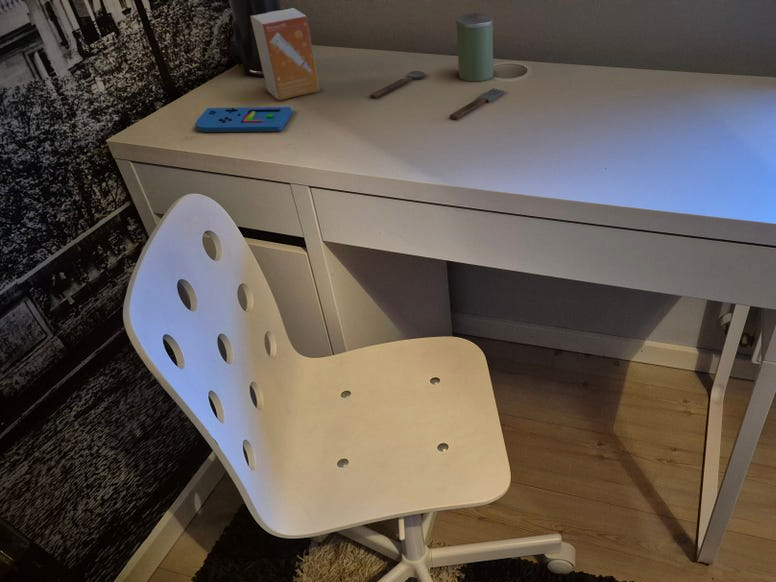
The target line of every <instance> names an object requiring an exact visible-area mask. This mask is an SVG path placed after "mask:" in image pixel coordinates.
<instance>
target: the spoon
mask: <svg viewBox="0 0 776 582" xmlns="http://www.w3.org/2000/svg"><path fill="white" fill-rule="evenodd" d="M424 78H425V72H424V71H422V70H412V71H409V72H408V73H407V77H406V78H401V79H398V80H396V81H394V82H392V83H391V84H388V85H386V86H384V87H382V88H380V89H378V90H376V91H374V92H372V93H370V94H369V97H370V98H371V99H375V100H378V99H379V98H381V97H383V96H385V95H387V94H389V93H391V92H393V91H395V90H397V89H399V88H401V87H403V86H405V85H407V84H408V83H409V82H410V81H412V80H413V81H417V80H418V81H419V80H422V79H424Z"/></svg>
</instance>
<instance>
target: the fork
mask: <svg viewBox="0 0 776 582" xmlns="http://www.w3.org/2000/svg"><path fill="white" fill-rule="evenodd" d="M504 94H505V90H501V89H498V88H496V89H495V88H494V87H493V88H491V89H490V90H487V91H486V92H483V93H481V94H480V95H478V96H477V98H476V99H475V100H473V101H471V102H470V103H467V104H466V105H465V106H463V107H461V108H459V109H458V110H456V111H454V112H452V113H451V114H449V118H450V119H451V120H455V121H458V120H459V119H461V118H463V117H464V116H466V115H468V114H469V113H470V112H472V111H474V110H476V109H478V108H479V107H482V106H483V105H484V104H486V103H491V102H493V101H494V100H496V99H498V98H499V97H501V96H502V95H504Z"/></svg>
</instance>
